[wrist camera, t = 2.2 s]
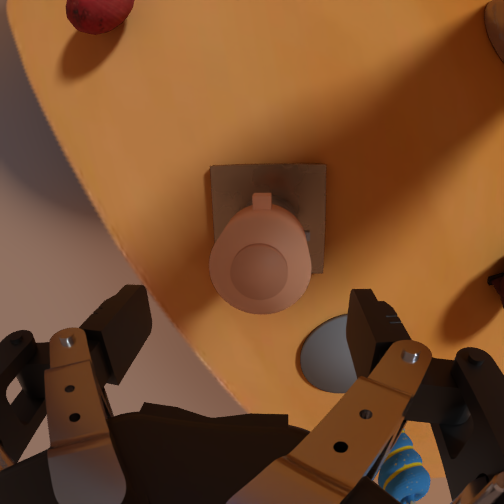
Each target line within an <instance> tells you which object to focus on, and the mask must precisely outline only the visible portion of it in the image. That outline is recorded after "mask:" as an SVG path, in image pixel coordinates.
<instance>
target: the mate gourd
mask: <svg viewBox="0 0 504 504" xmlns="http://www.w3.org/2000/svg"><path fill="white" fill-rule="evenodd" d="M487 283H488V284H489V285H493V286H494V287H495V289H496V291H497V292H498V294H499V295H500V297H501V301H502V305H503V308H504V273H501V274H497V275H494V276H490V277H488V281H487Z"/></svg>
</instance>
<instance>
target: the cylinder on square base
mask: <svg viewBox="0 0 504 504" xmlns="http://www.w3.org/2000/svg"><path fill="white" fill-rule="evenodd" d="M210 172H211V190H212V208H213V224H214V239H215V242H216V241H217V239H218V238H219V236H220V235H221V233H222V232H223V230H224V229H225V227H226V226H227V224H228V223H229V221H230V220H231V218H232V217H233V216H234V215H235V214H236V213H237V212H239V211H240V210H242V209H244V208H245V207H248V206H251V205H253V203H252V196H253V194H254V193H271V194H272V204H274V205H277V206H280V207H282V208H285V209H286V210H288V211H289V212H291V213H292V214H293V215H294V216H295V217H296V218H297V219H298V220H299V222H300V223H301V225H302V227H303V229H304V232H305V235H306V240H307V245H308V249H309V254H310V259H311V273H323V264H324V242H325V212H326V164H235V165H213V166H210Z"/></svg>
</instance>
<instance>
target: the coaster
mask: <svg viewBox="0 0 504 504" xmlns="http://www.w3.org/2000/svg"><path fill="white" fill-rule="evenodd" d="M347 316H348V314H344V315H340V316H337V317H334V318H331V319H329V320H327V321H325V322H324V323H322V324H321V325H319V326H318V327H317V328H316V329H314V330H313V331H312V332H311V334H310V335H309V336H308V337H307V339H306V340H305V342H304V344H303V347H302V350H301V356H300V359H301V369H302V372H303V374H304V376H305V377H306V379H307V380H308V381H309V382H310V383H311V384H312V385H314V386H315V387H317V388H319V389H321V390H324V391H327V392H331V393H346V392H347V391H348V390H349V388H350V387H351V386H352V385H353V384H354V382H355V381H356V380H357V376H356V372H355V369H354V365H353V361H352V358H351V354H350V350H349V347H348V343H347V339H346V323H347Z"/></svg>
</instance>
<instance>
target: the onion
mask: <svg viewBox="0 0 504 504" xmlns="http://www.w3.org/2000/svg"><path fill="white" fill-rule="evenodd" d="M133 4H134V0H67V4H66V14H67V18H68V20H69V21H70V22H71V23H72V25H73V26H74V27H75V28H76V29H77V30H79V31H81V32H85V33H89V34H94V35H97V34H101V33H105V32H108V31H111V30H112V29H114V28H115V27H117V26H118V25H120V24H121V23H122V22H123V21H124V20H125V19H126V18H127V17H128V15H129V13H130V12H131V10H132V8H133Z"/></svg>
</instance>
